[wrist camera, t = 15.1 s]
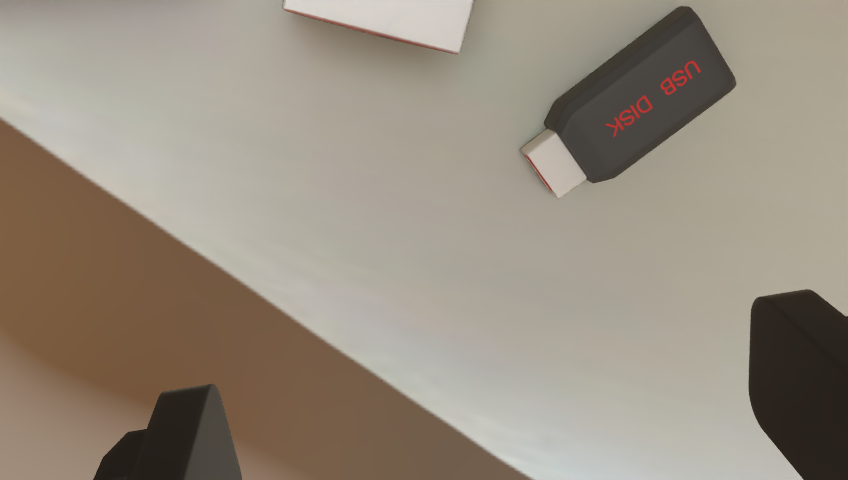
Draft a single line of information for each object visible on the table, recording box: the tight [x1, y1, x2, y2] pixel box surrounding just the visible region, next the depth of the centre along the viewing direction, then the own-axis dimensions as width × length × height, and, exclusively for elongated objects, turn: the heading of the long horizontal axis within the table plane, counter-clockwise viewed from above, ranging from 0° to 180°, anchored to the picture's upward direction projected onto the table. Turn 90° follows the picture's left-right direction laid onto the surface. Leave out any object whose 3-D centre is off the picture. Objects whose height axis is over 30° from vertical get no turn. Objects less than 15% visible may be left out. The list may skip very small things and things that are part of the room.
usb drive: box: [520, 6, 736, 199], centre depth 45 cm, size 5×12×3 cm, turn 127°
